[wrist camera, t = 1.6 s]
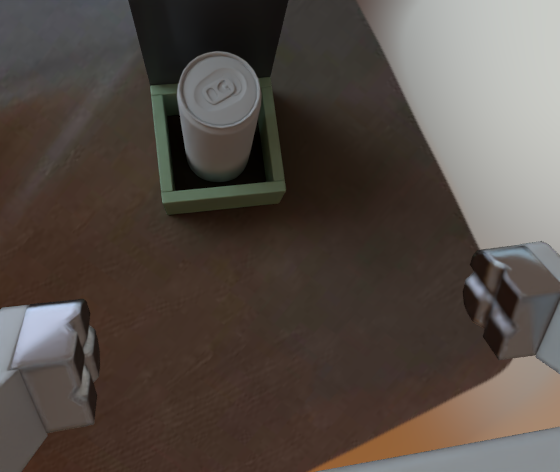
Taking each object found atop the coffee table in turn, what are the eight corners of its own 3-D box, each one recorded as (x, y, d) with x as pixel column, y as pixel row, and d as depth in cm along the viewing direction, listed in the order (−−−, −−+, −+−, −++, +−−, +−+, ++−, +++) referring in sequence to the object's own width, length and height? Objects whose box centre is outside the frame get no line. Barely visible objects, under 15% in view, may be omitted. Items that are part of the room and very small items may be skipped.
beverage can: (260, 164, 42) (279, 102, 30) (208, 197, 41) (207, 146, 29) (226, 114, 42) (231, 34, 30) (173, 145, 41) (158, 75, 29)
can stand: (279, 203, 41) (313, 144, 28) (167, 215, 40) (144, 159, 26) (263, 87, 43) (288, -25, 29) (154, 95, 41) (126, -18, 28)
